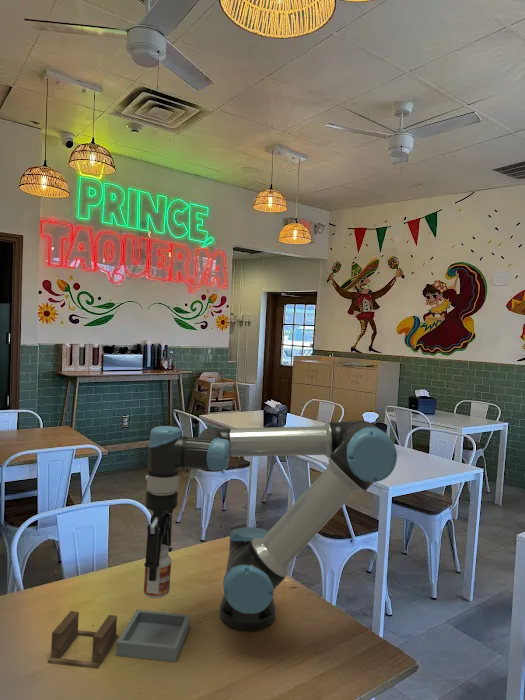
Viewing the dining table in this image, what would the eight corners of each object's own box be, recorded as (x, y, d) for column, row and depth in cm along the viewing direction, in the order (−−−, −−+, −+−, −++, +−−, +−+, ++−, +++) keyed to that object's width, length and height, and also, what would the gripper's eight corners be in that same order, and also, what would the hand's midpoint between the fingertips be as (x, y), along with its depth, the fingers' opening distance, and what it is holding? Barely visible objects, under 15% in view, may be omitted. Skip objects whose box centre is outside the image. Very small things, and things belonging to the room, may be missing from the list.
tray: (189, 626, 127) (190, 615, 127) (175, 661, 113) (176, 648, 113) (136, 621, 128) (137, 609, 128) (116, 655, 114) (116, 642, 114)
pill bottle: (157, 602, 116) (160, 555, 116) (138, 594, 119) (140, 548, 119) (174, 591, 121) (177, 546, 121) (155, 584, 124) (157, 540, 124)
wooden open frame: (117, 636, 121) (119, 612, 121) (97, 668, 109) (99, 641, 109) (72, 632, 122) (73, 607, 122) (47, 662, 110) (48, 636, 110)
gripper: (158, 479, 129) (153, 566, 130) (133, 502, 110) (128, 604, 111) (186, 481, 129) (181, 569, 129) (166, 505, 110) (160, 607, 110)
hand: (157, 585), depth 120 cm, fingers closed on pill bottle, 6 cm apart
